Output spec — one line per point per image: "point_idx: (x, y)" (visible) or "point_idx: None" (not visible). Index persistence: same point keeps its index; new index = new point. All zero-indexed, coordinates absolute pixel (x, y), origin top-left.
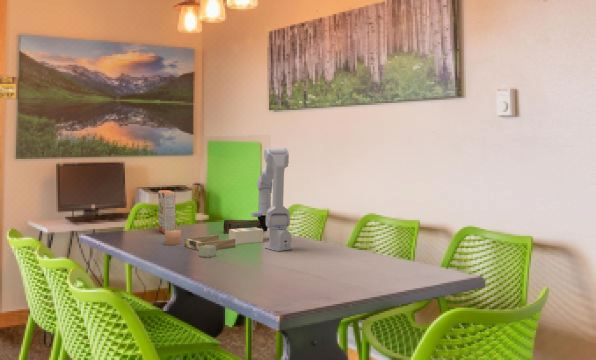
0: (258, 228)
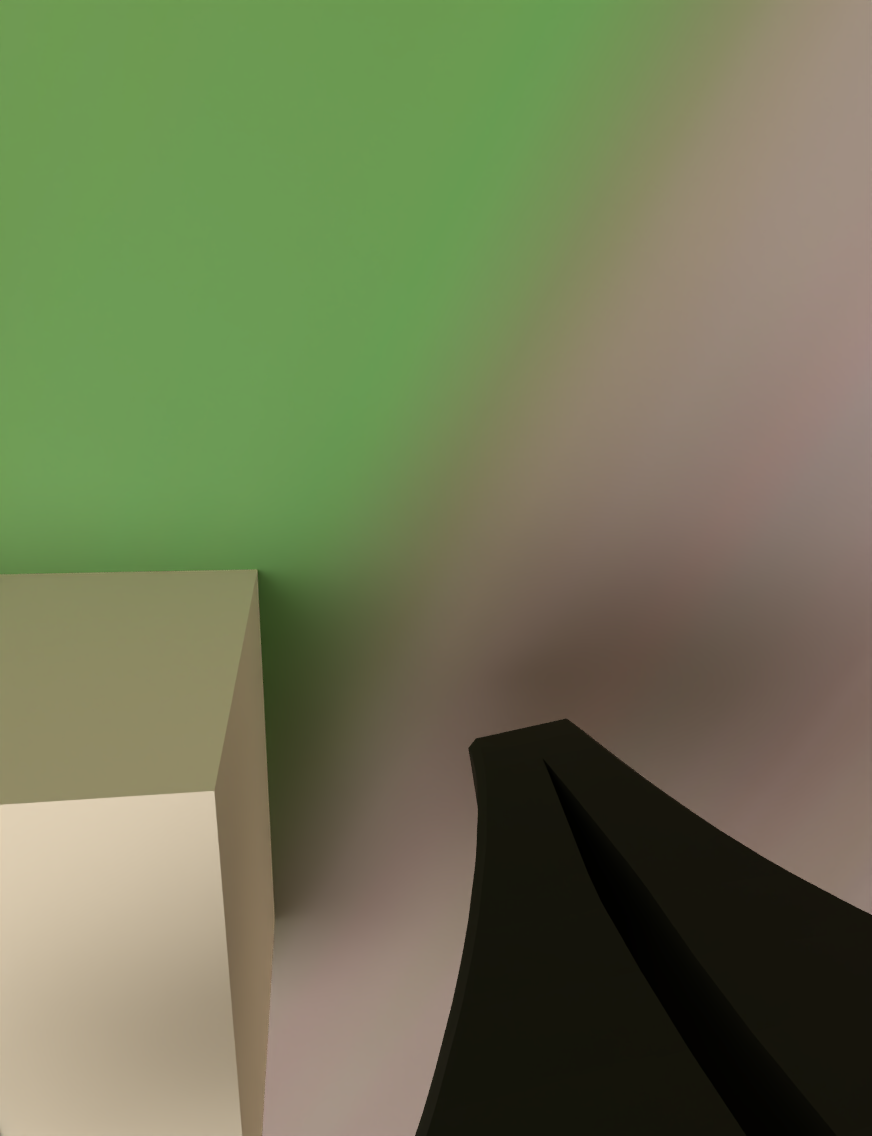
0: (186, 1069)
